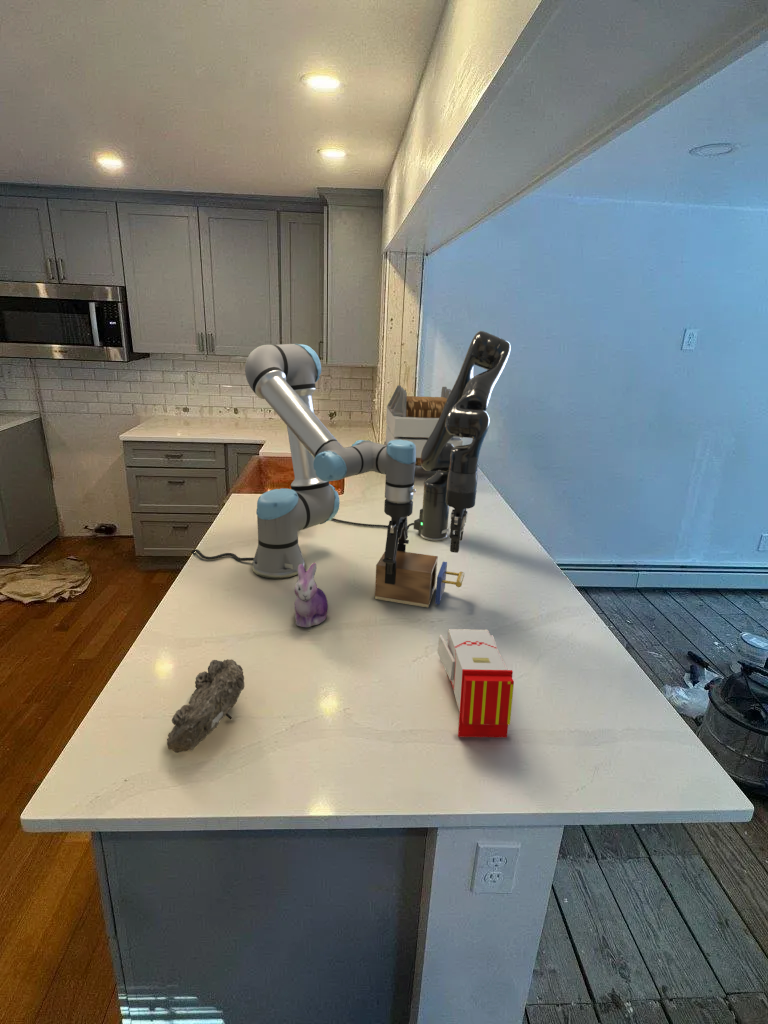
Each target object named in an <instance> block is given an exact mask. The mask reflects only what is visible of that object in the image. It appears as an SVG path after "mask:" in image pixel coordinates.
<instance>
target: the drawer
mask: <svg viewBox="0 0 768 1024" xmlns="http://www.w3.org/2000/svg"><path fill="white" fill-rule="evenodd" d="M436 564H437V565H438V562H437V563H436ZM447 568H448V562H447V561H442V563H441V565H440V568H439V571H438V573H437V572H436V565H435V567H434V570H433V572H432V575H431V587H430V598H431V595H432V592H433V590H434V587H435V590H434V591H435V598H434V604H435V605H440V603H441V600H442V598H443V595H444V592H445V588H446V584H449V585H455V586H456V587H457V588H461V587H462V585H463V581H464V577H465V572H463V571H459V572H455V571H447V570H448V569H447ZM447 575H449V576H450V575H451V576H457V577H456V581H453V580H447ZM435 577H436V584H435ZM429 600H430V599H429Z"/></svg>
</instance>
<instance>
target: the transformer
mask: <svg viewBox="0 0 768 1024" xmlns="http://www.w3.org/2000/svg"><path fill="white" fill-rule="evenodd" d="M451 390H452V389H451V388H447V386H442V387H441V392H440V393H441V394H440V396H415V395H414V396H413V395H412V396H411V395H407V394H408V393H407V390H406V389H404V388H403V387H402V385H399V384H398V385H397V386H396V388H395V390H394V392H393V394H392V395H391V398H390V400H389V402H388V404H387V405H386V413H385V414H386V415H385V423H386V428H385V438H384V442H383V445H386V446H387V444H388V442H389V441H392V440H407V441H411V442H413V443H414V444H415V446H416V464H415V467H417V466H418V467H422V466H421V461H420V458H421V452H422V449H423V447H424V445H425V443H426V442H427V440H428V438H429V437H430V435H431V433H432V432H433V430H434V428H435V426H436V424H437V422H438V420H439V417H440V415H441V413H442V410H443V408H444V405H445V403H446V401H447V399H448V397H449V395H450V392H451ZM463 438H464V437H456V436H454V437H453V438H452V439H450V440H449V441H448V442H447V443H451V444H452V445H453V446H454V447H456V446H461V445H463V442H464V441H463V440H462V439H463Z"/></svg>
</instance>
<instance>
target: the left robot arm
mask: <svg viewBox="0 0 768 1024" xmlns="http://www.w3.org/2000/svg"><path fill="white" fill-rule="evenodd" d="M321 363H322V362H321V360H320V357H319V356H318V353H317V352H316V351H315V350H314V349H312V347H311V346H309V345H307V344H302V343H284V344H283V343H282V344H262V345H259V346H257V347H256V348H254V349H253V350H252V351H250V353H249V354H248V356H247V359H246V361H245V364H244V366H245V367H244V374H245V378H246V381H247V384H248V385H249V387H250V389H251V391H252V392H253V393H254V394H255V396H256V397H257V398H259V399H261V400H264V401H266V402H267V404H268V405H269V406H270V408H272V410H273V411H274V412H275V413H276V414H277V416H278V417H279V418H280V420H282V422H283V423H284V424H285V425H286V429H287V437H288V442H289V443H288V444H289V449H290V455H291V463H292V468H293V476H294V479H293V481H292V482H291V484H290V488H285V487H284V488H283V487H282V488H273V489H270V490H267V491H265V492H263V493H262V494H261V495H260V496H259V497H258V498H257V501H256V511H255V513H256V519H257V521H256V523H257V548H256V550H255V554H254V556H253V557H239V556H237V554H236V553H232V552H224V553H220V554H216V555H214V556H206V555H205V554H203V553H202V552H201V550H199V549H197V548H195V549H193V550H191V552H190V554H195V553H196V554H197V555H198V556H199V557H201V559H203V560H208V561H213V560H217V559H220V558H224V557H232V558H234V559H235V560H236V561H239V562H252V571H253V573H254V574H255V575H257V576H260V577H262V578H266V579H274V580H275V579H276V580H279V579H287V578H293V577H294V576H298V566H299V564H303V566H304V567H305V558H304V556H303V553H302V550H301V547H300V544H299V532H300V531H302V530H306V529H309V528H311V527H315V526H318V525H323V524H325V523H327V522H330V521H332V520H331V519H333V518H334V519H335V517H336V515H337V514H338V513H339V509H340V502H341V501H340V496H339V492H338V490H336V488H335V486H333V485H332V484H330V482H334V481H341V480H343V479H346V478H349V477H353V476H357V475H362V474H365V473H369V472H374V473H379V474H382V475H385V484H384V498H385V499H384V504H383V505H384V508H383V511H384V514H385V515H386V516H389V517H390V518H391V519H390V520H389V521H388V524H387V527H386V528H387V529H386V530H387V531H386V540H385V548H384V552H385V556H384V559H383V562H384V563H386V566H385V583H386V584H392V585H395V577H396V560H395V559H396V554H397V551H403V552H406V548H407V545H409V543H410V539H408V538H409V536H408V535H409V533H408V530H407V526H408V517H410V516H411V515H413V510H414V508H413V507H414V501H413V499H414V493H416V491H417V490H416V488H414V487H415V472H416V466H415V464H416V446H415V444H414V443H413V442H411V441H407V440H392V441H389V442H388V444H387V446H386V445H384V444H382V443H378V442H374V441H372V440H369V439H368V440H365V439H359V440H358V439H357V440H356V441H355V442H354V443H352V444H351V446H346V447H344V446H343V444H341V443H340V441H339V440H338V439H337V438H336V437H335V435H333V434H332V432H331V431H330V430H329V429H328V428H327V426H326V425H325V424H324V423H323V422H322V421H321V419H319V417H318V416H317V415H316V414H315V410H314V403H313V394H314V392H316V390H317V388H316V383H317V382H318V381H319V380H320V378H321V375H322V364H321ZM195 551H196V552H195ZM194 552H195V553H194Z"/></svg>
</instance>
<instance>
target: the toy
mask: <svg viewBox="0 0 768 1024" xmlns="http://www.w3.org/2000/svg"><path fill="white" fill-rule="evenodd" d="M446 640H447V643H446V641H445V639H444V636H443V635H442V634H439V637H438V646H437V656H438V657H439V659H440V661H441V663H442V666H443V668H444V670H445V672H446V674H447V677H448V679H449V681H450V684H451V687H452V690H453V693H454V697H455V701H456V705H457V708H458V711H459V714H458V715H459V716H458V730H457V731H458V732H457V737H458V738H508V731H509V726H510V725H511V717H512V707H513V697H514V696H513V695H514V684H515V680H514V679H513V673H514V671H513V670H512V669H508V667H507V665H506V662H505V661H504V659H503V658H502V655H501V653H500V651H499V649H498V647H497V643H496V639H495V637H494V635H493V634H491V632H490V631H489V629H467V628H466V629H465V628H463V629H461V628H460V629H459V628H448V630H447V639H446Z"/></svg>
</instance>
